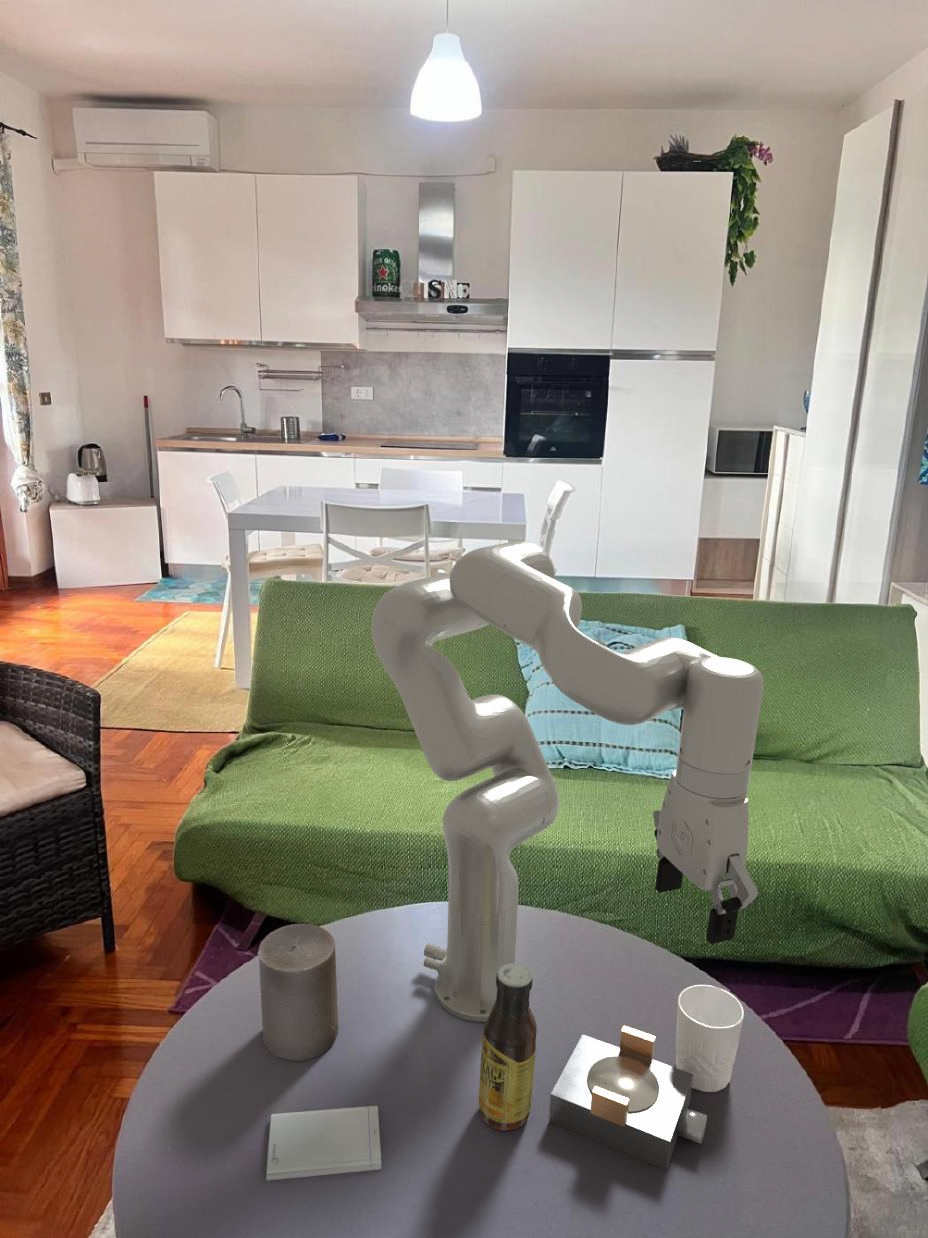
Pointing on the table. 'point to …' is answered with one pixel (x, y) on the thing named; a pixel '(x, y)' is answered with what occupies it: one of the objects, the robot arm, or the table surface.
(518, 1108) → the sauce bottle
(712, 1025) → the white cup
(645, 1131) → the block
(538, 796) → the robot arm
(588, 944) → the table surface
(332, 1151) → the hard drive
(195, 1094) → the table surface
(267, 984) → the pillar candle
